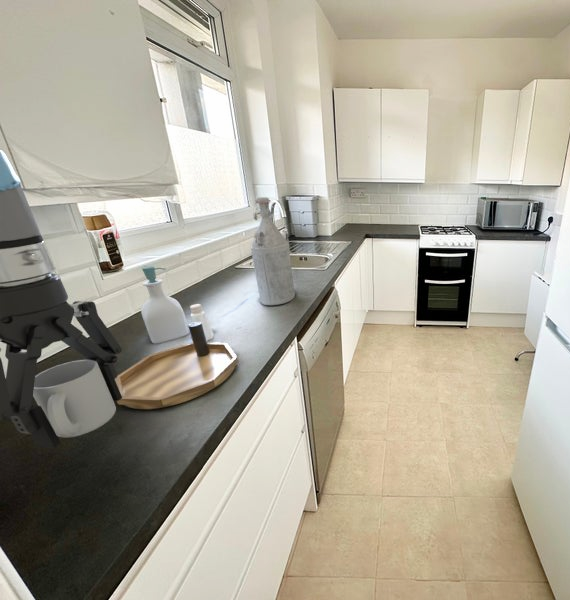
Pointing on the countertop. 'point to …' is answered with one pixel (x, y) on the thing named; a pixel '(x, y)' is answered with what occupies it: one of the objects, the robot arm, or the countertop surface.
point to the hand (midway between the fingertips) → (83, 419)
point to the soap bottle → (162, 311)
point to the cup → (74, 397)
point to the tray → (176, 373)
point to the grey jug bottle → (271, 259)
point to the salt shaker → (201, 320)
